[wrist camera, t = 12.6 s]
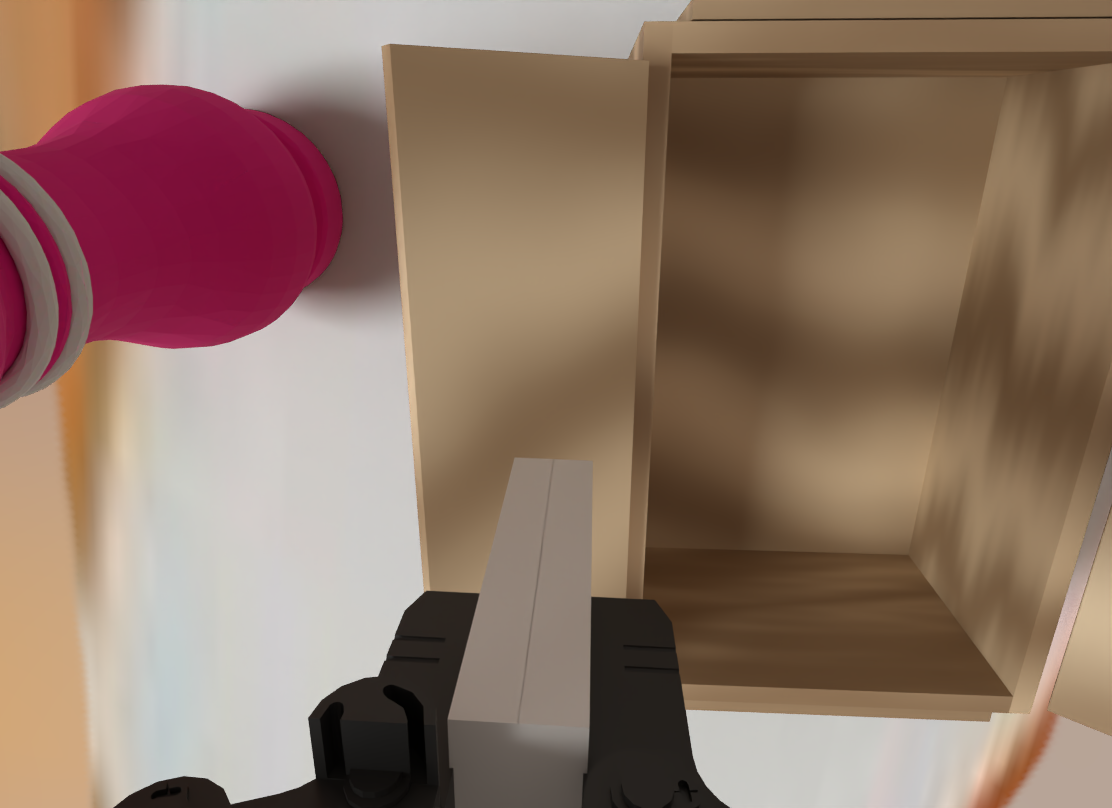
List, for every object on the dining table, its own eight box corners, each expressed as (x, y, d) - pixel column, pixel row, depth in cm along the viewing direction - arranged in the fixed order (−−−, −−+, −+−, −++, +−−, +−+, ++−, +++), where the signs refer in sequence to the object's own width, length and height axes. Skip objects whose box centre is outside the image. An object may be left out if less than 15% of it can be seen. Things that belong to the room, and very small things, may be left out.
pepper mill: (250, 42, 23) (-1310, -361, 4) (401, 225, 25) (-211, 517, 6) (109, 187, 25) (-1405, 360, 6) (260, 347, 26) (-542, 860, 8)
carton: (628, 38, 22) (646, -9, 15) (1025, 37, 22) (1253, -14, 14) (611, 560, 29) (616, 709, 21) (912, 569, 28) (1026, 725, 21)
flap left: (648, 60, 15) (637, 61, 15) (389, 43, 12) (381, 46, 12) (621, 693, 20) (613, 684, 21) (444, 779, 18) (438, 768, 18)
